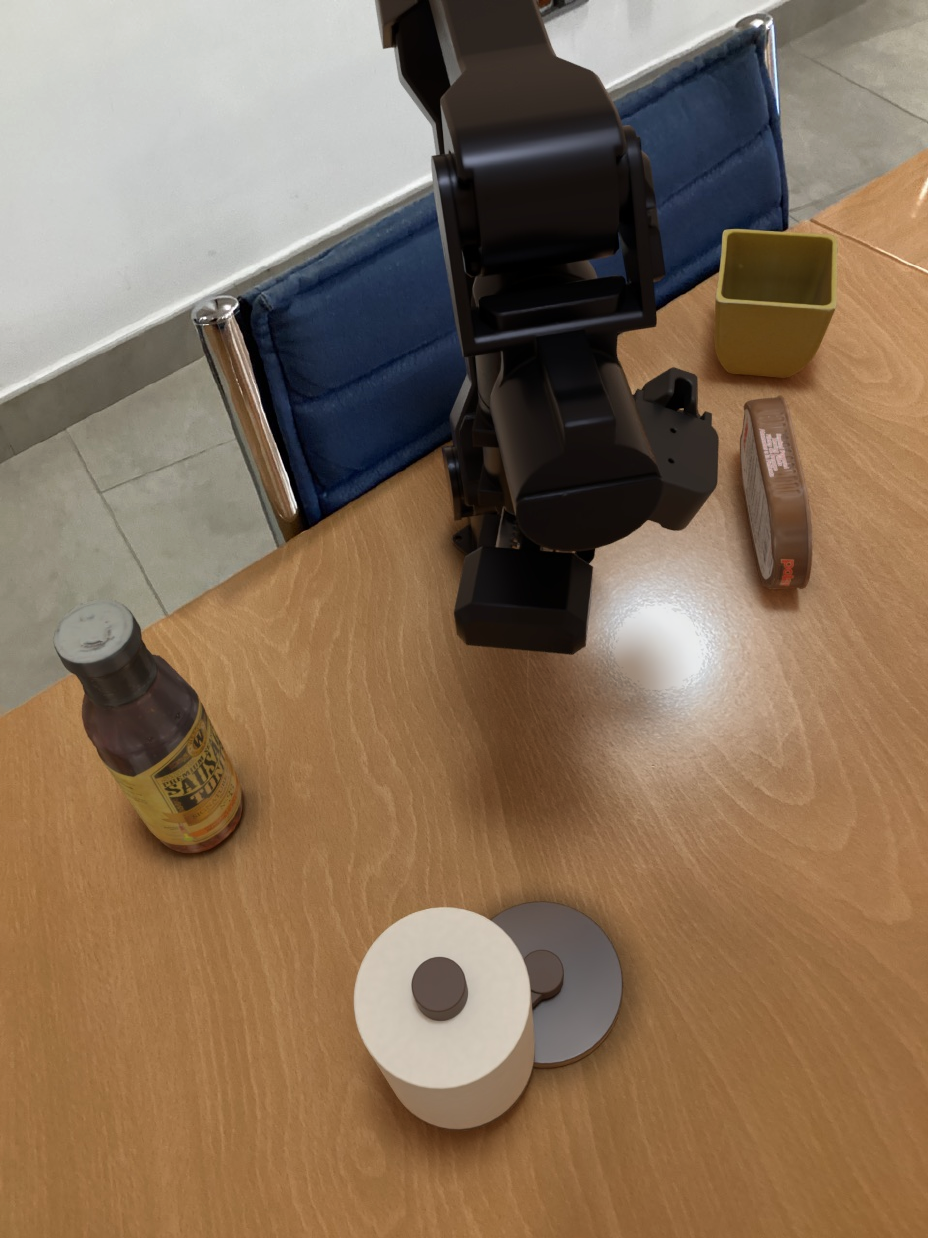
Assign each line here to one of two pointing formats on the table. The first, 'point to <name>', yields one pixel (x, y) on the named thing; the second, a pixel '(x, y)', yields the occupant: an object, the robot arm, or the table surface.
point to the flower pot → (773, 300)
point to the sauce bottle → (149, 729)
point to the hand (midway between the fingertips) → (543, 586)
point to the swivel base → (568, 979)
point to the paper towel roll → (452, 1014)
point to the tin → (775, 495)
